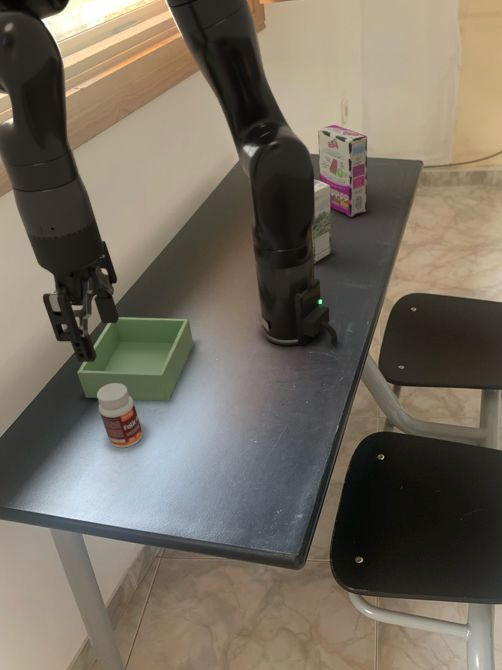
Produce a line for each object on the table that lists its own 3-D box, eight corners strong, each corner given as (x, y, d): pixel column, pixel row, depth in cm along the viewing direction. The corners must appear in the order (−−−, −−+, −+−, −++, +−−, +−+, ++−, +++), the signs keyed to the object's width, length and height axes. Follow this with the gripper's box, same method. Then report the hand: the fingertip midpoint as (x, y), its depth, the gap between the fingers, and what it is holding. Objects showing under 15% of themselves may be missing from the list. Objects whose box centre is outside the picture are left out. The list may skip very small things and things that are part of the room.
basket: (193, 343, 112) (188, 318, 108) (168, 400, 101) (162, 375, 97) (118, 341, 113) (111, 317, 110) (86, 397, 102) (76, 372, 99)
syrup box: (310, 246, 136) (306, 176, 126) (332, 254, 133) (330, 183, 124) (292, 257, 133) (286, 186, 123) (314, 265, 130) (310, 193, 120)
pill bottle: (135, 450, 93) (120, 404, 87) (104, 446, 94) (87, 401, 88) (148, 427, 96) (135, 382, 91) (118, 424, 97) (103, 379, 91)
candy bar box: (368, 211, 147) (368, 135, 136) (350, 218, 145) (349, 141, 134) (336, 196, 154) (334, 123, 143) (319, 202, 152) (316, 128, 141)
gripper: (67, 249, 67) (109, 375, 78) (112, 191, 78) (144, 309, 89) (-2, 249, 68) (49, 374, 79) (52, 192, 79) (91, 309, 90)
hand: (100, 340), depth 84 cm, fingers open, 8 cm apart
